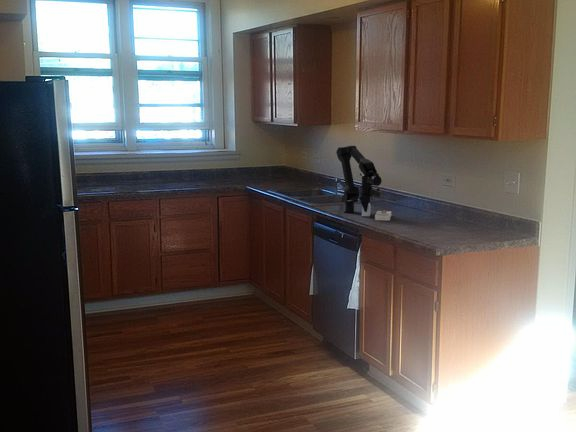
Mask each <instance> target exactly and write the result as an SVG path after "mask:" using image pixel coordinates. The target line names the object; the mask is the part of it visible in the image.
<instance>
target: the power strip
mask: <svg viewBox="0 0 576 432" xmlns="http://www.w3.org/2000/svg"><path fill="white" fill-rule="evenodd" d="M391 218H392V211H389V210H386V209H384V210H377V211H376V213H375V214H374V221H391Z"/></svg>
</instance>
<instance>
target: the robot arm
mask: <svg viewBox="0 0 576 432" xmlns="http://www.w3.org/2000/svg"><path fill="white" fill-rule="evenodd" d="M335 154H336V156H337V159H338V161H339V162H340V163H341V168H342V174H343V179H344V185H345V187H344V189H343V194H342V196H341V199H340V200H341V203H344V210H343V213H344V214H345V213H346V214H354V213H356V210H355V203H358V202H360V204H361V207H362V206H363V209H364V211H365V212H367V208H368V203H371V201H372V199H373V198H374V196H375V197H376V198H381V195H382V193H383V192H382V190H381V188H379V187H378V186H380V185H381V184H382V181H383V180H382V178H381V176H380V174H379V173H378V171H377V169H376V167H375V164H374V162H373V161H372V160H370V159H367V158H366V157H364V155H363V154H362V152H360V151H359V149H357V146H356V145H346V146H345V147H343V146H341V147H338V148H337V149H336V153H335ZM351 158H353V159H354V160H355V161H356V163H357V164H358V169H359V170H360V172H361V173H360V174H359V176H361V185H360V187H361V188H360V189H361V193H360V191H359V186H357V185H355V183H354V177H353V172H352V167H351V160H352V159H351ZM375 186H376V187H377V188H373V187H375Z"/></svg>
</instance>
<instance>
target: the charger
mask: <svg viewBox="0 0 576 432" xmlns="http://www.w3.org/2000/svg"><path fill="white" fill-rule="evenodd" d="M371 206H372V205H371V202H369V203H368V208H367V212H365V211H364V209H363V206H362V205H361V217H370V216H371Z"/></svg>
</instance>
